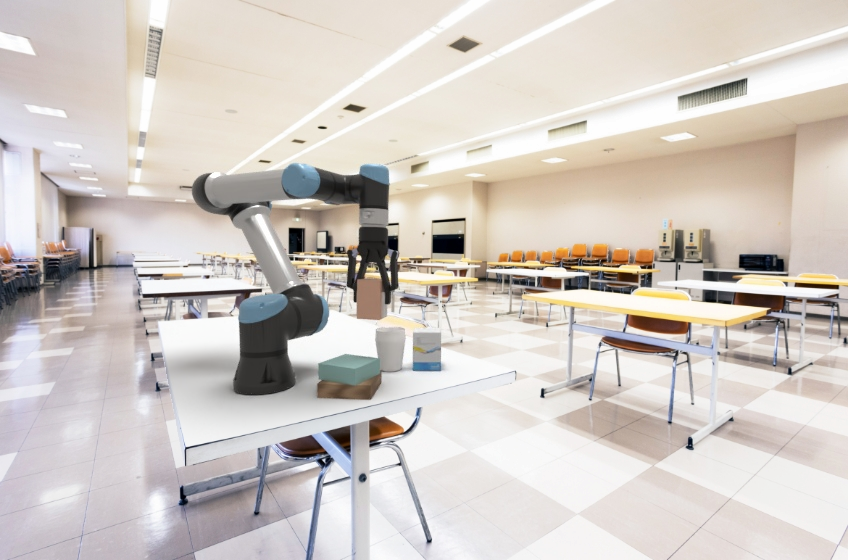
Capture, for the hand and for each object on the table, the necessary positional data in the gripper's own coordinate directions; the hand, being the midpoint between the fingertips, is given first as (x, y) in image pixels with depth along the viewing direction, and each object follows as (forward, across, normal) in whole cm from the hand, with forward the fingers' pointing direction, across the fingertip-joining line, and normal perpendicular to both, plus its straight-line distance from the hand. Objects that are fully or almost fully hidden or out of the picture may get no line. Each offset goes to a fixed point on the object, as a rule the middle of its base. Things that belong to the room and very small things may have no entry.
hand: (371, 315), depth 107 cm
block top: (+15, -4, -5) cm, 16 cm away
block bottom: (+19, -3, -5) cm, 20 cm away
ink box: (+18, +11, +20) cm, 29 cm away
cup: (+19, +1, +16) cm, 24 cm away
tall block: (0, 0, 0) cm, 1 cm away
